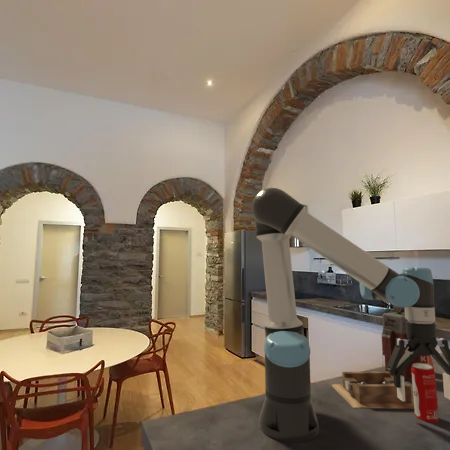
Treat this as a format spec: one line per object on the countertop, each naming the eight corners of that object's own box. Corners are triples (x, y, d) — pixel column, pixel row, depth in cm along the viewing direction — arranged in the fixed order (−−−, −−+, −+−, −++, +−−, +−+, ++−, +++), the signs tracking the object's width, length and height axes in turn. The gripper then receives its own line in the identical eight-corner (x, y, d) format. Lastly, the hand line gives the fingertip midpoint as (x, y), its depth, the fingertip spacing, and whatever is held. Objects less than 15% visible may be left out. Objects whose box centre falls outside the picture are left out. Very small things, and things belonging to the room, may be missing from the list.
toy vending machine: (380, 373, 128) (377, 301, 131) (401, 370, 132) (397, 300, 135) (399, 381, 120) (395, 304, 123) (421, 377, 124) (417, 302, 127)
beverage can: (439, 418, 92) (435, 363, 93) (439, 428, 86) (435, 369, 88) (414, 413, 95) (411, 360, 96) (413, 422, 89) (410, 366, 91)
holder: (353, 411, 96) (352, 389, 97) (331, 387, 114) (331, 369, 115) (426, 410, 97) (425, 388, 97) (393, 387, 114) (392, 369, 115)
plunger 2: (384, 390, 104) (383, 382, 105) (380, 387, 107) (380, 380, 107) (405, 390, 105) (404, 382, 105) (400, 387, 107) (400, 380, 107)
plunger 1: (348, 391, 104) (348, 383, 104) (345, 388, 106) (345, 380, 107) (369, 390, 104) (369, 383, 105) (366, 388, 107) (365, 380, 107)
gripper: (384, 324, 89) (388, 405, 87) (472, 323, 90) (479, 404, 88) (371, 319, 97) (374, 394, 95) (453, 318, 98) (458, 393, 95)
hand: (425, 399), depth 91 cm, fingers open, 13 cm apart
